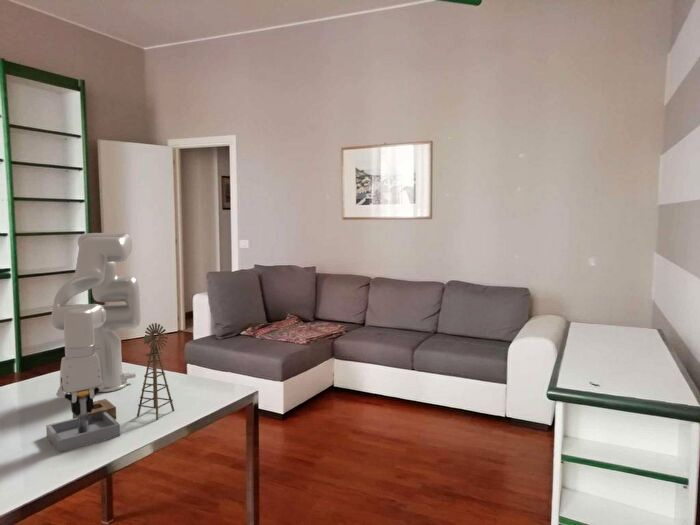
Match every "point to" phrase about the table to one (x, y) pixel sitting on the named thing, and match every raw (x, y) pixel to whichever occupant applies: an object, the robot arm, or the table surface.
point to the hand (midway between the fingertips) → (82, 412)
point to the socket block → (101, 409)
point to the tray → (69, 438)
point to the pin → (83, 411)
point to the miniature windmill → (154, 368)
